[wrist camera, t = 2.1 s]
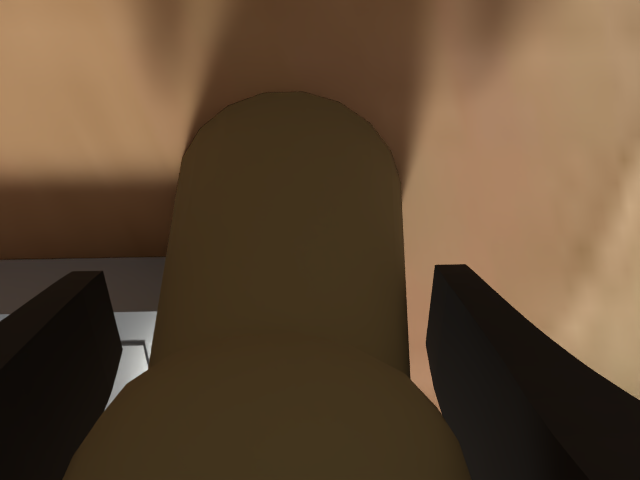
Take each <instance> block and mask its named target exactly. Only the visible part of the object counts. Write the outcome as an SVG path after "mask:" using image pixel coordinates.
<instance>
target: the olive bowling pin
mask: <svg viewBox="0 0 640 480" xmlns="http://www.w3.org/2000/svg"><path fill="white" fill-rule="evenodd" d="M62 480H472V479H471V476H470V473H469V470H468V467H467V464H466V461H465V459H464V456H463V453H462V450H461V447H460V444H459V441H458V440H457V438H456V436H455V435H454V433H453V432H452V430H451V429H450V427H449V425H448V424H447V422H446V421H445V419H444V418H443V416H442V415H441V413H440V411H439V410H438V408H437V407H436V406H435V405H434V404H433V403H432V402H431V401H430V400H429V399H428V398H427V396H426V395H425V394H424V393H423V392H422V391H421V390H420V389H419V388H418V387H417V386H416V385H415V384H414V383H413V382H412V381H411V380H410V361H409V341H408V321H407V300H406V280H405V260H404V239H403V219H402V199H401V182H400V179H399V175H398V172H397V169H396V166H395V162H394V159H393V156H392V153H391V150H390V149H389V148H388V146H387V145H386V144H385V142H384V141H383V140H382V138H381V137H380V136H379V134H378V133H377V132H376V130H375V129H374V128H373V126H372V125H371V124H370V123H369V122H368V121H366V120H365V119H363V118H362V117H360V116H359V115H357V114H356V113H355V112H353V111H352V110H350V109H349V108H347V107H346V106H344V105H343V104H341V103H340V102H337V101H333V100H330V99H326V98H323V97H319V96H316V95H312V94H309V93H305V92H277V93H262V94H259V95H256V96H254V97H251V98H248V99H246V100H243V101H240V102H237V103H235V104H232V105H229V106H227V107H226V108H225V109H224V110H222V111H221V112H220V113H219V114H217V115H216V116H215V117H214V118H212V119H211V120H210V121H209V122H208V123H206V124H205V125H204V126H203V127H201V128H200V129H199V131H198V133H197V134H196V136H195V138H194V139H193V141H192V143H191V144H190V146H189V148H188V149H187V151H186V153H185V154H184V156H183V158H182V162H181V168H180V173H179V179H178V185H177V190H176V196H175V203H174V209H173V215H172V221H171V228H170V234H169V240H168V246H167V253H166V259H165V265H164V271H163V278H162V284H161V290H160V297H159V303H158V309H157V315H156V322H155V328H154V334H153V340H152V347H151V353H150V359H149V365H148V370H146V371H145V372H143V373H142V374H140V375H139V376H137V377H136V378H134V379H133V380H131V381H130V382H128V383H127V384H126V385H125V386H124V387H123V389H122V390H121V391H120V392H119V394H118V395H117V396H116V397H115V399H114V400H113V401H112V402H111V403H110V405H109V406H108V407H107V408H106V410H105V411H104V412H103V413H102V415H101V416H100V417H99V419H98V420H97V422H96V423H95V425H94V426H93V427H92V429H91V430H90V432H89V433H88V435H87V436H86V438H85V439H84V441H83V442H82V444H81V445H80V446H79V448H78V449H77V451H76V452H75V454H74V455H73V457H72V459H71V461H70V464H69V466H68V468H67V470H66V472H65V475H64V477H63V479H62Z"/></svg>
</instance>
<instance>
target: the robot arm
mask: <svg viewBox="0 0 640 480" xmlns="http://www.w3.org/2000/svg"><path fill="white" fill-rule="evenodd" d="M426 348H427V354H428V360H429V366H430V371H431V376H432V381H433V386H434V390H435V393H436V397H437V400H438V403H439V406H440V409H441V412H442V416H443V418H444V419H445V421H446V422H447V424H448V425H449V427H450V429H451V430H452V432H453V433H454V435H455V436H456V438H457V440H458V441H459V444H460V447H461V450H462V453H463V456H464V459H465V461H466V464H467V467H468V470H469V473H470V476H471V479H472V480H640V400H638V399H637V398H635V397H633V396H632V395H630V394H629V393H627V392H625V391H624V390H622V389H621V388H619V387H618V386H616V385H615V384H613V383H612V382H610V381H609V380H607V379H606V378H604V377H603V376H601V375H600V374H598V373H596V372H595V371H593V370H592V369H591V368H589V367H588V366H586V365H585V364H584V363H582V362H581V361H579V360H578V359H577V358H575V357H574V356H573V355H571V354H570V353H569V352H567V351H566V350H565V349H563V348H562V347H561V346H559V345H558V344H557V343H556V342H554V341H553V340H552V339H550V338H549V337H548V336H547V335H545V334H544V333H543V332H542V331H540V330H539V329H538V328H537V327H536V326H534V325H533V324H532V323H531V322H530V321H528V320H527V319H526V318H525V317H524V316H523V315H521V314H520V313H519V312H518V311H517V310H516V309H515V308H513V307H512V306H511V305H510V304H509V303H508V302H507V301H506V300H504V299H503V298H502V297H501V296H500V295H499V294H498V293H497V292H496V291H495V290H493V289H492V288H491V287H490V286H489V285H488V284H487V283H486V282H485V281H484V280H483V279H481V278H480V277H479V276H478V275H477V274H476V273H475V272H474V271H473V270H472V269H470V268H469V267H468V266H467V265H466V264H457V265H435V270H434V278H433V286H432V295H431V303H430V311H429V320H428V328H427V337H426ZM122 351H123V348H122V344H121V340H120V336H119V332H118V328H117V324H116V320H115V316H114V312H113V308H112V304H111V300H110V296H109V292H108V288H107V284H106V280H105V276H104V272H103V271H72V272H70V273H69V274H67V275H65V276H64V277H62V278H61V279H59V280H58V281H56V282H55V283H53V284H52V285H50V286H49V287H48V288H46V289H45V290H43V291H42V292H40V293H39V294H38V295H36V296H35V297H34V298H32V299H31V300H29V301H28V302H27V303H25V304H24V305H22V306H21V307H20V308H18V309H17V310H15V311H14V312H13V313H11V314H10V315H8V316H7V317H6V318H4V319H3V320H1V321H0V480H62V479H63V477H64V475H65V472H66V470H67V468H68V466H69V464H70V461H71V459H72V457H73V455H74V454H75V452H76V451H77V449H78V448H79V446H80V445H81V444H82V442H83V441H84V439H85V438H86V436H87V435H88V433H89V432H90V430H91V429H92V427H93V426H94V425H95V423H96V422H97V420H98V419H99V417H100V416H101V415H102V413H103V412H104V410H105V408H106V405H107V403H108V400H109V398H110V395H111V392H112V389H113V385H114V382H115V378H116V375H117V371H118V367H119V363H120V359H121V355H122Z"/></svg>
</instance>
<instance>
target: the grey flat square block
mask: <svg viewBox="0 0 640 480" xmlns="http://www.w3.org/2000/svg"><path fill="white" fill-rule="evenodd" d="M165 259H166V257H135V258H77V259H18V260H0V321H1V320H3V319H4V318H6V317H7V316H8V315H10V314H11V313H13V312H14V311H15V310H17V309H18V308H20V307H21V306H22V305H24V304H25V303H27V302H28V301H29V300H31V299H32V298H34V297H35V296H36V295H38V294H39V293H40V292H42V291H43V290H45V289H46V288H48V287H49V286H50V285H52V284H53V283H55V282H56V281H58V280H59V279H61V278H62V277H64V276H65V275H67V274H69V273H70V272H72V271H103V272H104V276H105V280H106V284H107V288H108V292H109V296H110V300H111V304H112V308H113V312H114V316H115V320H116V324H117V328H118V332H119V336H120V340H121V344H122V348H123V351H122V355H121V359H120V363H119V367H118V371H117V375H116V378H115V382H114V385H113V389H112V392H111V395H110V398H109V400H108V403H107V405H106V408H107V407H108V406H109V405H110V403H111V402H112V401H113V400H114V399H115V397H116V396H117V395H118V394H119V392H120V391H121V390H122V389H123V387H124V386H125V385H126V384H127V383H128V382H130V381H131V380H133V379H134V378H136V377H137V376H139V375H140V374H142V373H143V372H145V371H146V370H148V365H149V359H150V353H151V347H152V340H153V334H154V328H155V322H156V315H157V309H158V303H159V297H160V290H161V284H162V278H163V271H164V265H165ZM106 408H105V410H106ZM105 410H104V411H105Z"/></svg>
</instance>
